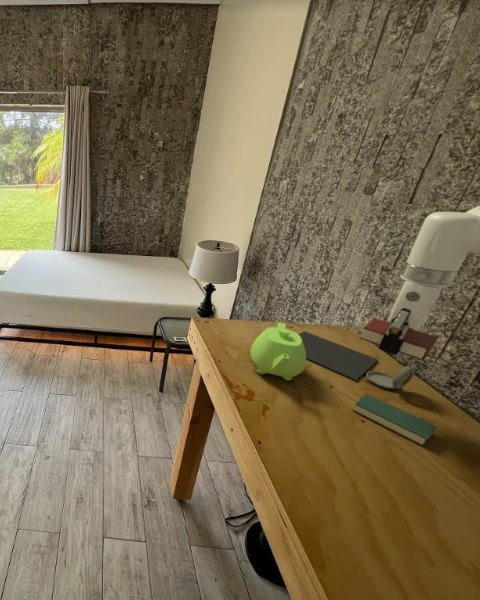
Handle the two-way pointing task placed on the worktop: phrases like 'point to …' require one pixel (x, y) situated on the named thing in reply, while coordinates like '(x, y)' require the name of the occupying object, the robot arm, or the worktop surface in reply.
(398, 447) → the worktop surface
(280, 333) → the teapot
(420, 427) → the bottom book
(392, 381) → the pocket watch
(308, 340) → the felt mat
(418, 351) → the top book
